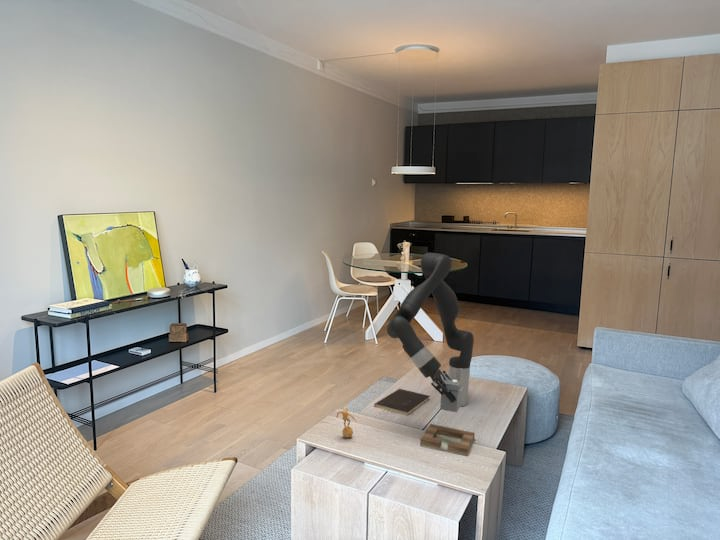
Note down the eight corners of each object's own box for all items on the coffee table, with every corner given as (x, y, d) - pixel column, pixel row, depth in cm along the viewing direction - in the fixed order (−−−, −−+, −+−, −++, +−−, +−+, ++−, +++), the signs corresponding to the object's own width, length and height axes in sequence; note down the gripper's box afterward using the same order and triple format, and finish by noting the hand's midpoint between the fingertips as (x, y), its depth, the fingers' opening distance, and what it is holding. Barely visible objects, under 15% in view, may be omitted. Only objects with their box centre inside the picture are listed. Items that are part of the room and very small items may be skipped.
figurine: (359, 437, 191) (361, 406, 189) (352, 443, 185) (353, 412, 184) (340, 432, 194) (341, 402, 193) (332, 438, 189) (333, 407, 188)
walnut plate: (430, 430, 200) (430, 423, 200) (474, 439, 194) (474, 432, 193) (420, 445, 186) (420, 439, 186) (466, 456, 180) (467, 449, 180)
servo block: (440, 404, 192) (442, 376, 191) (461, 408, 189) (463, 379, 188) (437, 408, 188) (439, 379, 187) (459, 412, 185) (461, 383, 184)
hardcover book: (429, 400, 233) (429, 395, 233) (407, 416, 214) (407, 411, 213) (398, 393, 241) (398, 388, 241) (374, 407, 222) (374, 402, 222)
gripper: (428, 360, 182) (459, 399, 179) (437, 351, 196) (467, 387, 193) (413, 372, 185) (443, 411, 182) (423, 362, 198) (452, 398, 195)
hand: (455, 398), depth 187 cm, fingers closed on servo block, 4 cm apart
